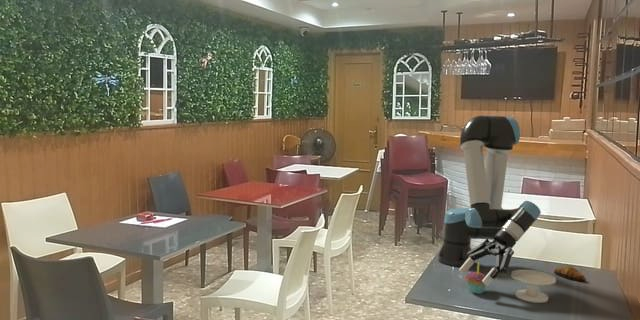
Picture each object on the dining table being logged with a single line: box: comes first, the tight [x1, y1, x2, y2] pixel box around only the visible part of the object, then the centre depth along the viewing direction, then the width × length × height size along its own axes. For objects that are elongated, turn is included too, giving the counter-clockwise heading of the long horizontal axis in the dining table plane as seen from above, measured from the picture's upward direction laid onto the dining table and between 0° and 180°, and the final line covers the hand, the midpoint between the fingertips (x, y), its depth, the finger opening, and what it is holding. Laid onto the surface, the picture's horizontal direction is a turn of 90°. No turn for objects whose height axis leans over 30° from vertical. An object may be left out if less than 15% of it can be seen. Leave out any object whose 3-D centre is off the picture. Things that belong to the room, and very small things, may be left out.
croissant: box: [553, 266, 587, 283], centre depth 224 cm, size 14×7×5 cm, turn 33°
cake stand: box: [511, 269, 557, 304], centre depth 197 cm, size 15×15×8 cm
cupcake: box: [464, 261, 487, 295], centre depth 201 cm, size 9×8×12 cm
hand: (472, 277), depth 200 cm, fingers open, 13 cm apart
